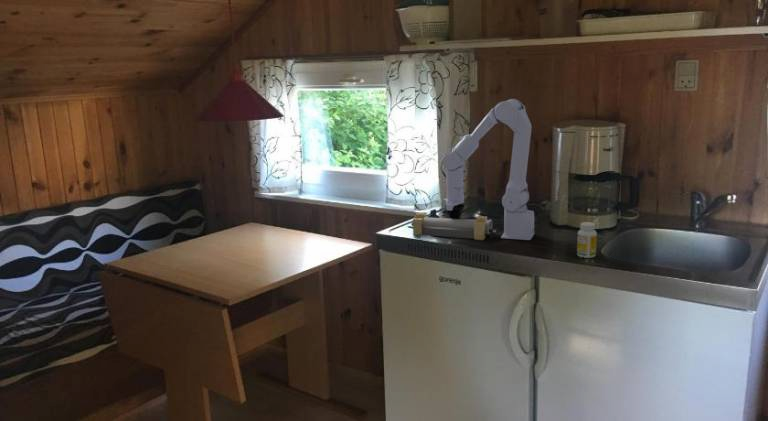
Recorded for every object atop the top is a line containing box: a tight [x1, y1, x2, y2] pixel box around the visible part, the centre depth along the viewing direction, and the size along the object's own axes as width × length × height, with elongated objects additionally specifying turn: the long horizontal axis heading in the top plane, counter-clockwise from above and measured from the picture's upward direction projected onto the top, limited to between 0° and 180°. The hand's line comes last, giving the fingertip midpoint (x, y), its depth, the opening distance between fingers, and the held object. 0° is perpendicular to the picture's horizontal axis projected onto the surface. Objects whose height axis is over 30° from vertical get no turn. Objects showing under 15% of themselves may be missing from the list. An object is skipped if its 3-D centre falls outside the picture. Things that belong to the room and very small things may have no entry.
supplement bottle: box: [576, 221, 598, 259], centre depth 186 cm, size 5×5×10 cm
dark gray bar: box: [422, 226, 474, 240], centre depth 212 cm, size 24×2×2 cm, turn 67°
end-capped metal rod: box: [412, 211, 488, 241], centre depth 212 cm, size 24×6×6 cm, turn 67°
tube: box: [424, 216, 493, 234], centre depth 216 cm, size 5×5×25 cm
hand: (455, 225), depth 219 cm, fingers closed
